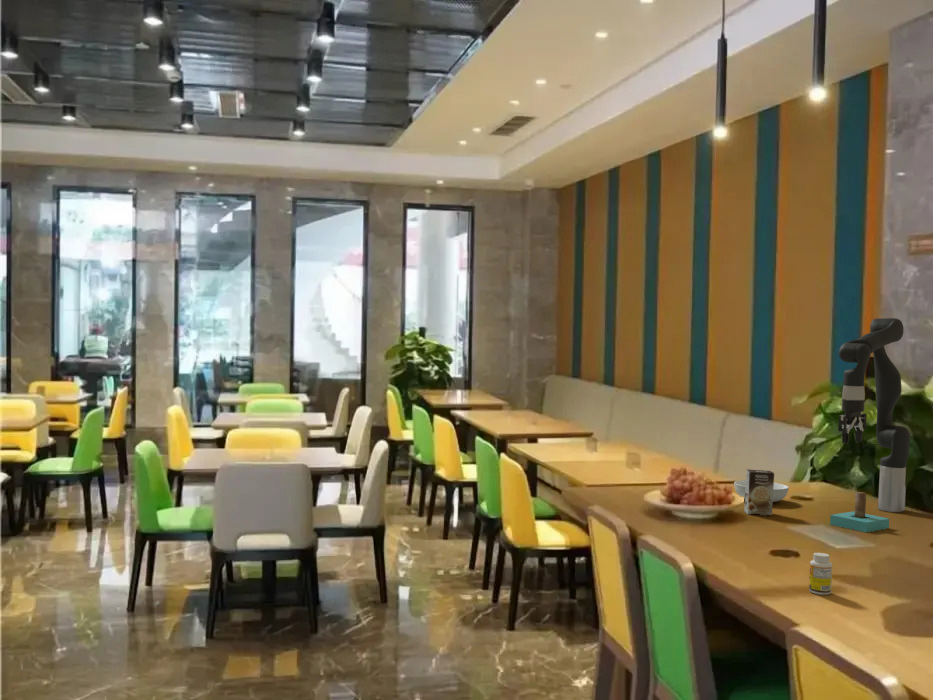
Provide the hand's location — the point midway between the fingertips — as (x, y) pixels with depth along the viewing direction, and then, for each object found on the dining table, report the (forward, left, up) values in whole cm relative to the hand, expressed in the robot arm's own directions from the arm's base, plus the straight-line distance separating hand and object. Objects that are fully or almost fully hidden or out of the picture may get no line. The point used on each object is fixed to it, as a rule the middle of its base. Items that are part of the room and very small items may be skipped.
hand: (852, 442), depth 344 cm
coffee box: (+19, -25, -29) cm, 43 cm away
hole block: (+4, +7, -29) cm, 30 cm away
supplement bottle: (+91, +51, -29) cm, 109 cm away
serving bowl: (-3, -41, -29) cm, 50 cm away
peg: (+4, +7, -29) cm, 30 cm away
